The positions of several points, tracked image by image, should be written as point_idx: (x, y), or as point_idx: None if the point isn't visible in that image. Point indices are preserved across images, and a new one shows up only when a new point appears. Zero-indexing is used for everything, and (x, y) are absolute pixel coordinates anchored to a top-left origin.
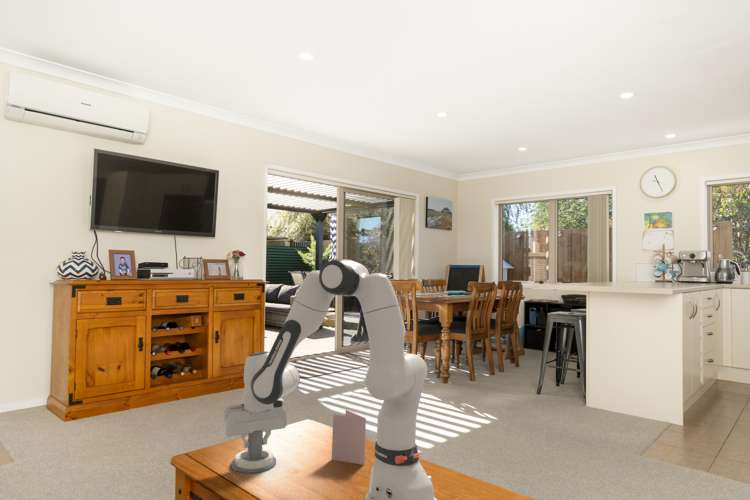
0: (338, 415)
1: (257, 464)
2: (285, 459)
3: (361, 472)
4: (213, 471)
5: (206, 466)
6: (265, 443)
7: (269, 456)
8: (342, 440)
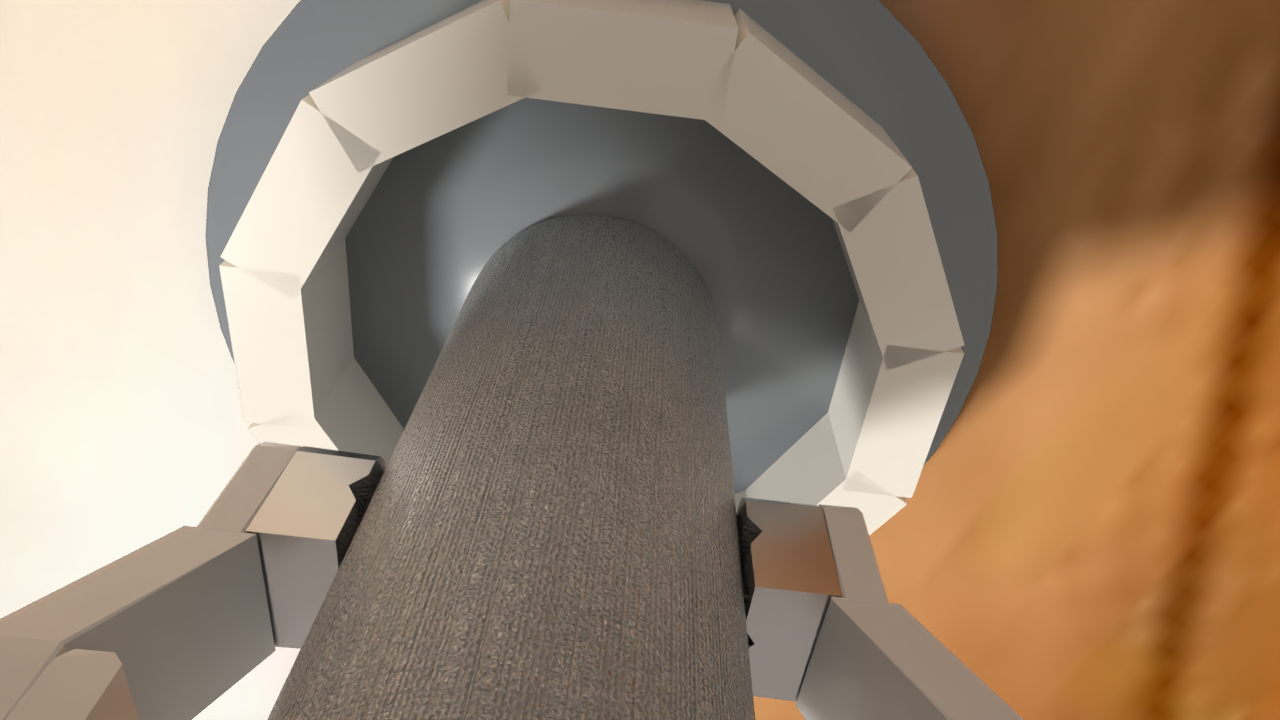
0: None
1: (684, 12)
2: (41, 202)
3: None
4: (1243, 395)
5: (1188, 575)
6: (297, 456)
7: (326, 175)
8: None
